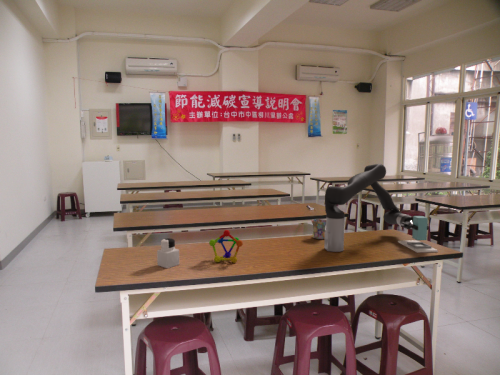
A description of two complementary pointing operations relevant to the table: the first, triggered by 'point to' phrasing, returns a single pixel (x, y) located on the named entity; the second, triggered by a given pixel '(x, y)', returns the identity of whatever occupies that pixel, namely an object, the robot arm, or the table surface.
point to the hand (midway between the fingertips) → (422, 228)
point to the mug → (318, 228)
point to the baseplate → (417, 246)
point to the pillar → (420, 228)
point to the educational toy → (227, 254)
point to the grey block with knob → (168, 254)
